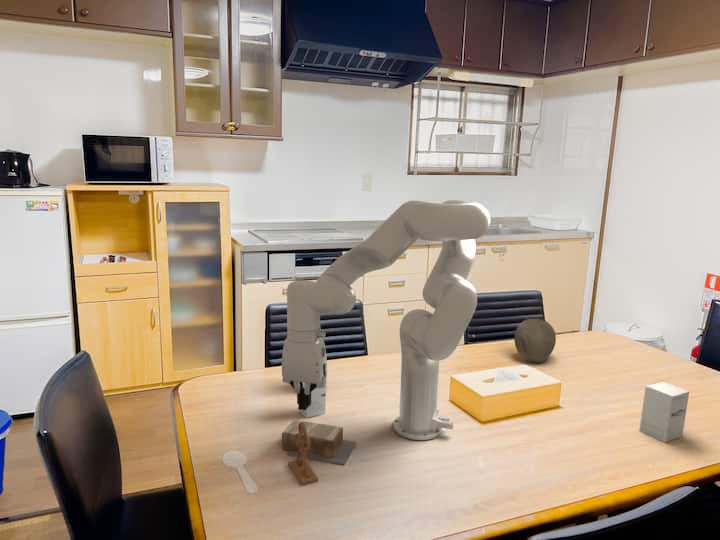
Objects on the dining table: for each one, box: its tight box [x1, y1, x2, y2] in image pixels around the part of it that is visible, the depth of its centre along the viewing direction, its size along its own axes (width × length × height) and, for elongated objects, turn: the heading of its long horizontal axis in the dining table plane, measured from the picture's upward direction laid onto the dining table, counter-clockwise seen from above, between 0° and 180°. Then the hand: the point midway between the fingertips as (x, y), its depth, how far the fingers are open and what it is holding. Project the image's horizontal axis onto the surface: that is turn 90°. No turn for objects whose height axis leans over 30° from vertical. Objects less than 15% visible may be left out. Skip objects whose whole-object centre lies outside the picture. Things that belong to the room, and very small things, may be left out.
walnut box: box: [281, 419, 344, 458], centre depth 126 cm, size 4×7×13 cm
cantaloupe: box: [514, 318, 557, 363], centre depth 185 cm, size 14×14×15 cm
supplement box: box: [639, 381, 690, 443], centre depth 135 cm, size 7×7×13 cm
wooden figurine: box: [287, 422, 319, 487], centre depth 114 cm, size 9×4×12 cm, turn 27°
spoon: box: [222, 450, 259, 494], centre depth 116 cm, size 5×18×1 cm, turn 29°
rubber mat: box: [286, 439, 357, 466], centre depth 125 cm, size 14×10×1 cm
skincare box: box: [299, 376, 327, 419], centre depth 143 cm, size 6×4×12 cm
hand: (304, 407), depth 125 cm, fingers closed
